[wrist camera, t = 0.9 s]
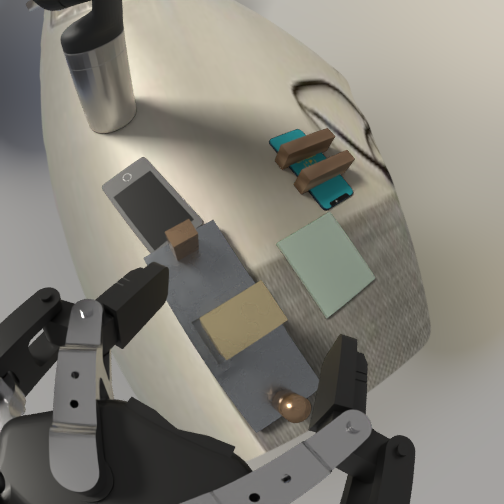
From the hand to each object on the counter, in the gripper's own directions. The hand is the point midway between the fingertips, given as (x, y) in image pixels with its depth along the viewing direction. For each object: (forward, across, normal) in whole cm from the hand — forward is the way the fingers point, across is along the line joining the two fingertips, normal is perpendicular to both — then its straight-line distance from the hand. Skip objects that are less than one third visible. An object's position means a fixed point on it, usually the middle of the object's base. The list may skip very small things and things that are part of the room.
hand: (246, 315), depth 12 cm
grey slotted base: (+15, +4, +17) cm, 23 cm away
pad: (+26, -5, +10) cm, 28 cm away
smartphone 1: (+21, +20, +8) cm, 30 cm away
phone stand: (+37, +2, 0) cm, 37 cm away
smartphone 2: (+37, +2, 0) cm, 37 cm away
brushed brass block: (+14, +3, +15) cm, 21 cm away
